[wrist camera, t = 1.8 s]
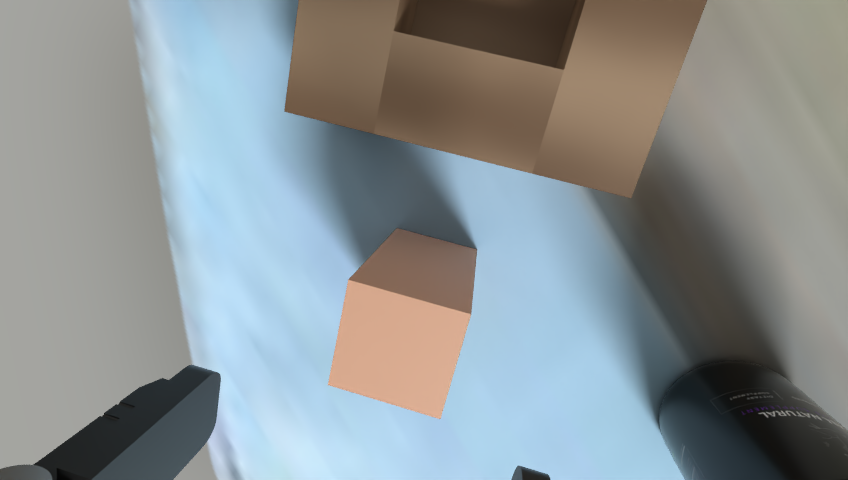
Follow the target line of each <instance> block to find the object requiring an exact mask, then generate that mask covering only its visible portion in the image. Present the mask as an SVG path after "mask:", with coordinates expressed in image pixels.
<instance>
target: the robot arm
mask: <svg viewBox="0 0 848 480" xmlns="http://www.w3.org/2000/svg"><path fill="white" fill-rule="evenodd" d="M220 381H221V377H220V374H219V373H217V372H214V371H211V370H207V369H204V368H201V367H198V366H194V365H189V366H187V367H186V368H184V369H183V370H182V371H180V372H179V373H178V374H176V375H175V376H174V377H173V378H171V379H170V380H166V379H163V378H162V379H159V380H157V381H154V382H152V383H149V384H147V385H145V386H142V387H139V388H138V389H137V390H135V391H134V392H132V393H131V394H130V395H128V396H127V397H126V398H124V399H123V400H121V401H120V403H119V404H118V405H115V406H113V407H112V408H111V409H109V410H108V411H106V412H105V413H104V415H103V416H102V417H101V416H100V417H98V418H97V419H96V420H94V421H93V422H91V423H90V424H89V425H87V426H86V427H85V428H84V429H82V430H81V431H79V432H78V433H76V434H75V435H74V436H72V437H71V438H70V439H68V440H67V441H65V442H64V443H63V444H61V445H60V446H59V447H57V448H56V449H54V450H53V451H52V452H50V453H49V454H48V455H46V456H45V457H44V458H42V459H41V460H39V461H38V462H37V463H35V464H34V465H17V466H10V467H6V468H2V469H0V480H173V479H174V478H175V477H176V476H177V475H178V474H179V472H180V471H181V470H182V469H183V468H184V467H185V466H186V465H187V464H188V463H189V461H190V460H191V459H192V458H193V457H194V456H195V455H196V454H197V453H198V451H199V450H200V449H201V448H202V447H203V446H204V445H205V443H206V442H207V441H208V439H209V437H210V435H211V433H212V431H213V429H214V426H215V423H216V418H217V409H218V399H219V390H220ZM512 480H550V477H549V475H548V474H545V473H541V472H538V471H535V470H531V469H528V468H525V467H522V466H517V468H516V469H515V472H514V474H513V477H512Z"/></svg>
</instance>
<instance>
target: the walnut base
mask: <svg viewBox="0 0 848 480" xmlns="http://www.w3.org/2000/svg"><path fill="white" fill-rule="evenodd" d="M706 2H707V0H299V2H298V10H297V17H296V25H295V33H294V41H293V48H292V56H291V64H290V72H289V80H288V87H287V95H286V103H285V112H289V113H293V114H297V115H301V116H305V117H309V118H313V119H317V120H321V121H325V122H329V123H333V124H337V125H341V126H345V127H349V128H353V129H357V130H361V131H365V132H369V133H373V134H377V135H381V136H384V137H388V138H392V139H396V140H400V141H404V142H408V143H412V144H416V145H420V146H424V147H428V148H432V149H436V150H440V151H444V152H448V153H452V154H456V155H460V156H464V157H468V158H472V159H476V160H480V161H484V162H488V163H492V164H496V165H500V166H504V167H508V168H512V169H516V170H520V171H524V172H528V173H532V174H536V175H540V176H544V177H548V178H552V179H556V180H560V181H564V182H568V183H572V184H576V185H580V186H584V187H588V188H592V189H596V190H600V191H604V192H608V193H612V194H616V195H620V196H624V197H628V198H631V197H632V195H633V192H634V190H635V187H636V184H637V182H638V179H639V177H640V174H641V171H642V169H643V166H644V164H645V161H646V158H647V156H648V153H649V150H650V148H651V145H652V143H653V140H654V137H655V135H656V132H657V130H658V127H659V124H660V122H661V119H662V117H663V114H664V111H665V109H666V106H667V104H668V101H669V98H670V96H671V93H672V91H673V88H674V85H675V83H676V80H677V78H678V75H679V72H680V70H681V67H682V65H683V62H684V59H685V57H686V54H687V52H688V49H689V46H690V44H691V41H692V39H693V36H694V33H695V31H696V28H697V26H698V23H699V20H700V18H701V15H702V12H703V10H704V7H705V5H706Z"/></svg>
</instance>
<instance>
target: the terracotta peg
mask: <svg viewBox="0 0 848 480" xmlns="http://www.w3.org/2000/svg"><path fill="white" fill-rule="evenodd" d="M476 256H477V249H474V248H470V247H466V246H462V245H459V244H455V243H451V242H447V241H444V240H440V239H436V238H433V237H429V236H425V235H421V234H418V233H414V232H410V231H406V230H403V229H399V228H396V229H395V230H394V232H393V233H392V234H391V235H390V236H389V237H388V238H387V239H386V240H385V241H384V242H383V243H382V244H381V245H380V247H379V248H378V249H377V250H376V251H375V252H374V253H373V254H372V255H371V256H370V257H369V258H368V259H367V260H366V262H365V263H364V264H363V265H362V266H361V267H360V268H359V269H358V270H357V271H356V272H355V273H354V274H353V275H352V276H351V278H350V279H349V280H348V284H347V290H346V295H345V300H344V305H343V310H342V315H341V321H340V326H339V331H338V336H337V341H336V346H335V352H334V357H333V362H332V367H331V372H330V377H329V382H328V385H330V386H333V387H337V388H340V389H343V390H346V391H350V392H353V393H356V394H360V395H363V396H366V397H369V398H373V399H376V400H379V401H383V402H386V403H389V404H392V405H396V406H399V407H402V408H406V409H409V410H412V411H415V412H419V413H422V414H425V415H429V416H432V417H435V418H438V419H440V418H441V415H442V411H443V408H444V405H445V401H446V398H447V394H448V391H449V388H450V384H451V381H452V377H453V374H454V371H455V367H456V364H457V360H458V357H459V354H460V350H461V347H462V343H463V340H464V337H465V333H466V330H467V326H468V323H469V320H470V316H471V309H472V299H473V288H474V277H475V267H476Z"/></svg>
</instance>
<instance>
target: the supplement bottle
mask: <svg viewBox="0 0 848 480" xmlns="http://www.w3.org/2000/svg"><path fill="white" fill-rule="evenodd" d="M659 425H660V430H661V434H662V436H663V439H664V441H665V443H666V445H667V447H668V449H669V451H670V453H671V455H672V457H673V459H674V461H675V463H676V464H677V466H678V468H679V470H680V472H681V474H682V476H683V477H684V479H685V480H848V430H847V429H845V428H844V427H843V426H842V425H841V424H840V423H838V422H837V421H836V420H835V419H834V418H833V417H831V416H830V415H829V414H828V413H827V412H826V411H824V410H823V409H822V408H821V407H820V406H818V405H817V404H816V403H815V402H814V401H813V400H811V399H810V398H809V397H808V396H807V395H806V394H804V393H803V392H802V391H801V390H799V389H798V388H797V387H796V386H795V385H793V384H792V383H791V382H790V381H788V380H787V379H786V378H784V377H783V376H782V375H780V374H778V373H777V372H775V371H773V370H771V369H769V368H766V367H764V366H761V365H757V364H754V363H749V362H742V361H722V362H715V363H711V364H707V365H704V366H701V367H698V368H696V369H694V370H692V371H690V372H688V373H686V374H685V375H683V376H682V377H681V378H680V379H678V380H677V381H676V382H675V383H674V384H673V385H672V386H671V388H670V389H669V390H668V392H667V393H666V395H665V397H664V399H663V401H662V404H661V407H660V412H659Z"/></svg>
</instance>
